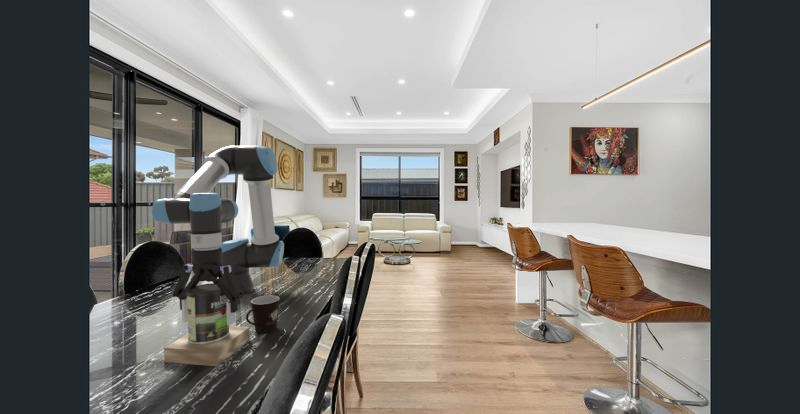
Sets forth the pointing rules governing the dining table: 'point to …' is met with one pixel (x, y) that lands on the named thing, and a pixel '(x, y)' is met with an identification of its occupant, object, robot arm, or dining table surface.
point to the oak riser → (206, 349)
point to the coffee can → (206, 314)
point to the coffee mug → (264, 313)
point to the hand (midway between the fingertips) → (209, 322)
